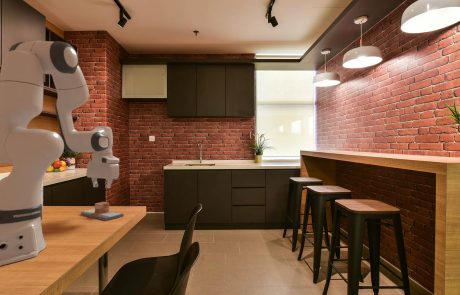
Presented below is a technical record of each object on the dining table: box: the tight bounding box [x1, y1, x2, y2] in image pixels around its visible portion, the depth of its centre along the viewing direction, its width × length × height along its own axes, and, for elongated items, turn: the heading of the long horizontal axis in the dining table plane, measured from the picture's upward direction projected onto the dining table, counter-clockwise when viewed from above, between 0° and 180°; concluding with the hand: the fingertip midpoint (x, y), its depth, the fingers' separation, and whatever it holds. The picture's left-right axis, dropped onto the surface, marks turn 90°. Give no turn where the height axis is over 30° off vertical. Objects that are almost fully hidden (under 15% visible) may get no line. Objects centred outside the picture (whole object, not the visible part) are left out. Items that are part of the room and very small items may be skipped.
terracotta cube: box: [94, 201, 110, 214], centre depth 126 cm, size 4×4×4 cm
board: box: [80, 208, 124, 222], centre depth 126 cm, size 9×20×2 cm, turn 62°
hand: (101, 187), depth 126 cm, fingers open, 8 cm apart
